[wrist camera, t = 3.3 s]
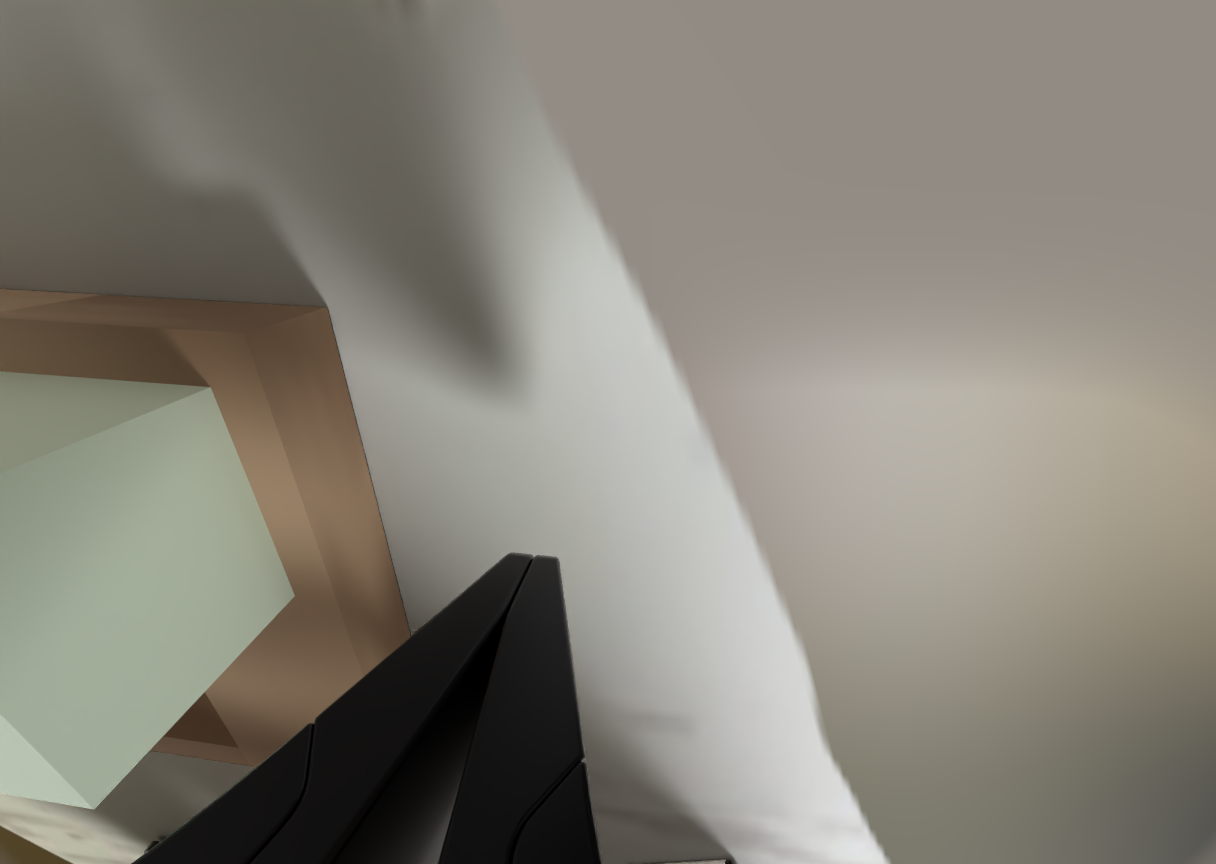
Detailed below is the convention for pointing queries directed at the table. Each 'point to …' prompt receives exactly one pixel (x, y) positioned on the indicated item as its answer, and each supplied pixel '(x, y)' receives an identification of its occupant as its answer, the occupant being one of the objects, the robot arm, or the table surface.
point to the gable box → (702, 862)
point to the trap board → (279, 477)
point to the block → (117, 574)
